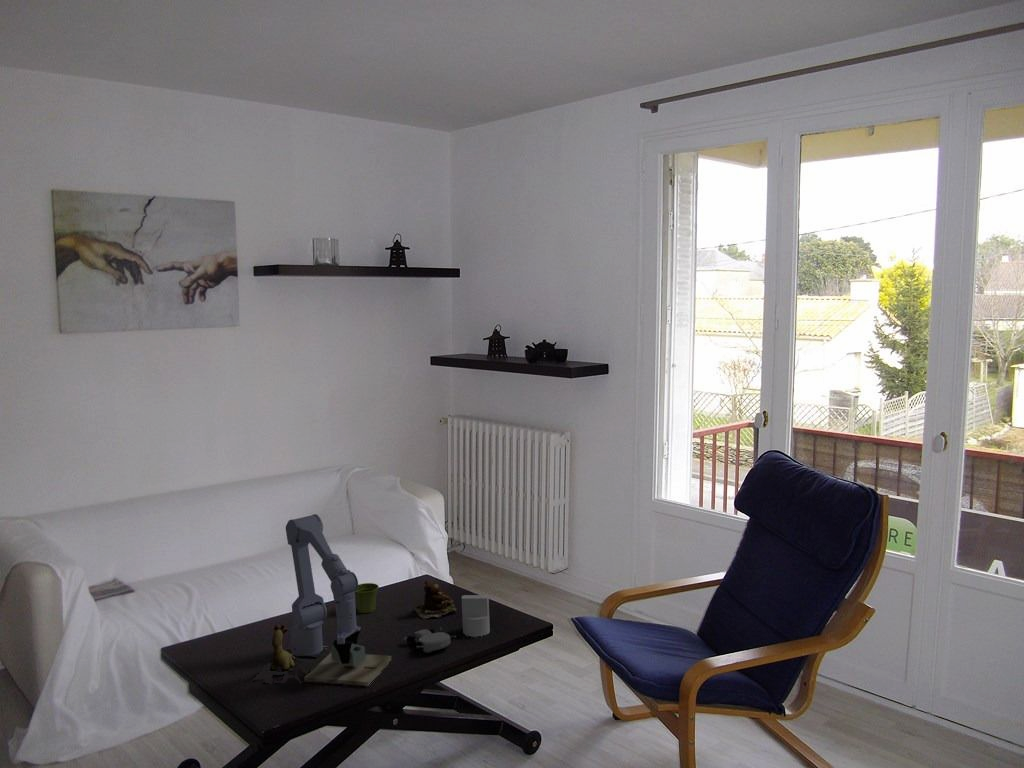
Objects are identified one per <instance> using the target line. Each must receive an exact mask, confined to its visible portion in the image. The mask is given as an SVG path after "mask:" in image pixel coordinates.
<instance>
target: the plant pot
mask: <svg viewBox="0 0 1024 768" xmlns="http://www.w3.org/2000/svg"><path fill="white" fill-rule="evenodd" d="M378 589H379V585H378V584H377V583H374V582H366V583H365V582H364V583H360V584H359V583H358V588H357V590H356V591H354V592H355V603H356V605H357V606H356V608H357V611H358V613H360V614H366V613H368V614H370V612H371V613H373V612H374V610H375V611H376V604H377V594H378V591H379V590H378Z"/></svg>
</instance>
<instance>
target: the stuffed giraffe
mask: <svg viewBox="0 0 1024 768" xmlns="http://www.w3.org/2000/svg"><path fill="white" fill-rule="evenodd" d="M288 629H289V628H287V627H286V624H284V623H283V624H282V625H281V626H280V625H278V624H276V625H274V628H273V631H274V633H273V635H272V638H271V639H272V641H271V646H272V648H274V649H273V653H272V659H271V660H272V662H271V665H270V671H276V672H284V671H288V670H289V668H292V667H294V666H295V658H296V657H295V656H293V655H292V654H291V653H290V652H289V651H287V650H285V649H283V638H284V634H286V633H287V631H288ZM292 658H293V659H294V660H293V659H292ZM294 668H295V667H294Z"/></svg>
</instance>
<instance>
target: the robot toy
mask: <svg viewBox="0 0 1024 768" xmlns="http://www.w3.org/2000/svg"><path fill="white" fill-rule="evenodd" d="M456 637H457V636H456V635H450V634H448V633H446V632H442V631H441V632H435V629H433V628H430V629H425V628H424V629H421V630H418V631H416V632H414V635H407V636H404V637H403V641H406V642H407V643H414V642H415V643H416V649H418V650H420V651H422V652H424V653H426V654H430V653H432V652H434V651H437V650H442V649H444V648H446V647H448V646H449V645H450V644H451V643H452V638H456Z"/></svg>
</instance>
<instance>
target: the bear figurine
mask: <svg viewBox="0 0 1024 768" xmlns="http://www.w3.org/2000/svg"><path fill="white" fill-rule="evenodd" d="M424 584H425V585H424V588H423V590H424V592H425V594H424V600H423V604H420V603H419V604H418V605H415V607H416V608H414V610H415V613H416V612H417V613H416V614H417V615H418V616H419V617H420V618H421V619H422V618H423V620H426V619H429V618H432V617H434V618H438V619H439V618H442V615H446V614H448V613H450V612H455V611H457V610H458V609H457V608H455V607H456V606H455V604H454V600H453V599H452V598H451V597H450V596H448V595H447V594H444V592H443V591H441V590H440V589H441V587H440V585H439V584H437V583H435V584H433V583H431V582H430V583H428V580H425V581H424ZM414 610H413V611H414ZM425 618H426V619H425Z"/></svg>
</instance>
